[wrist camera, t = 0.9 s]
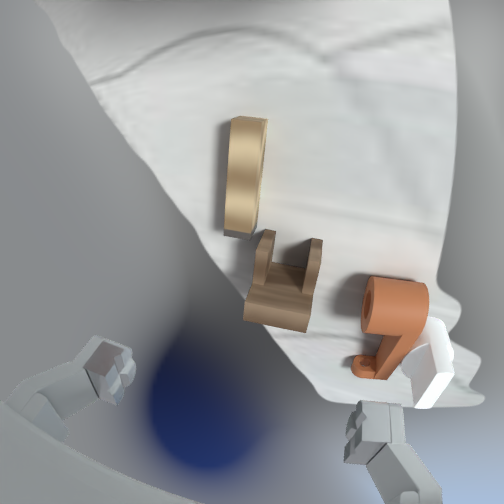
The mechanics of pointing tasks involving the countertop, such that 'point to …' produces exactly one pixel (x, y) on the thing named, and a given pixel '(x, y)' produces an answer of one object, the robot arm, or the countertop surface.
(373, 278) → the crank
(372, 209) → the countertop surface
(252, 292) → the wooden u-shaped bracket
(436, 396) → the white piece
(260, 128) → the rail
